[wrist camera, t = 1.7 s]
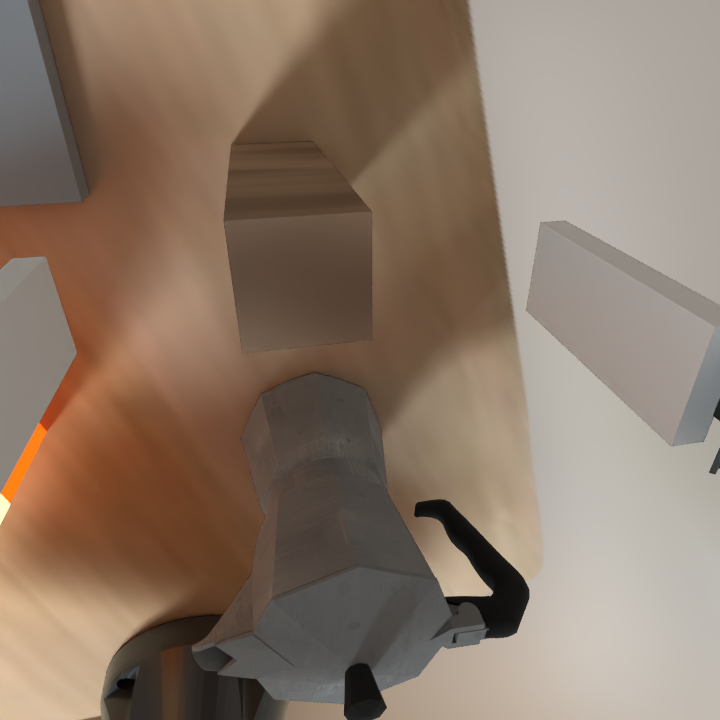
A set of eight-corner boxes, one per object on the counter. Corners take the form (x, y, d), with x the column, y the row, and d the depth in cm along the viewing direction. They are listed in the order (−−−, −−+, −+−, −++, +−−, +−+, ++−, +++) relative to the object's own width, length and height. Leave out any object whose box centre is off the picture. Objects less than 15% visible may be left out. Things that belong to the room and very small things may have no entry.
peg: (317, 221, 29) (372, 339, 17) (241, 225, 28) (242, 353, 16) (312, 141, 27) (371, 211, 15) (231, 144, 26) (223, 220, 14)
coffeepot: (214, 492, 36) (194, 811, 21) (203, 373, 32) (169, 671, 16) (429, 474, 39) (549, 741, 24) (447, 364, 35) (610, 607, 20)
